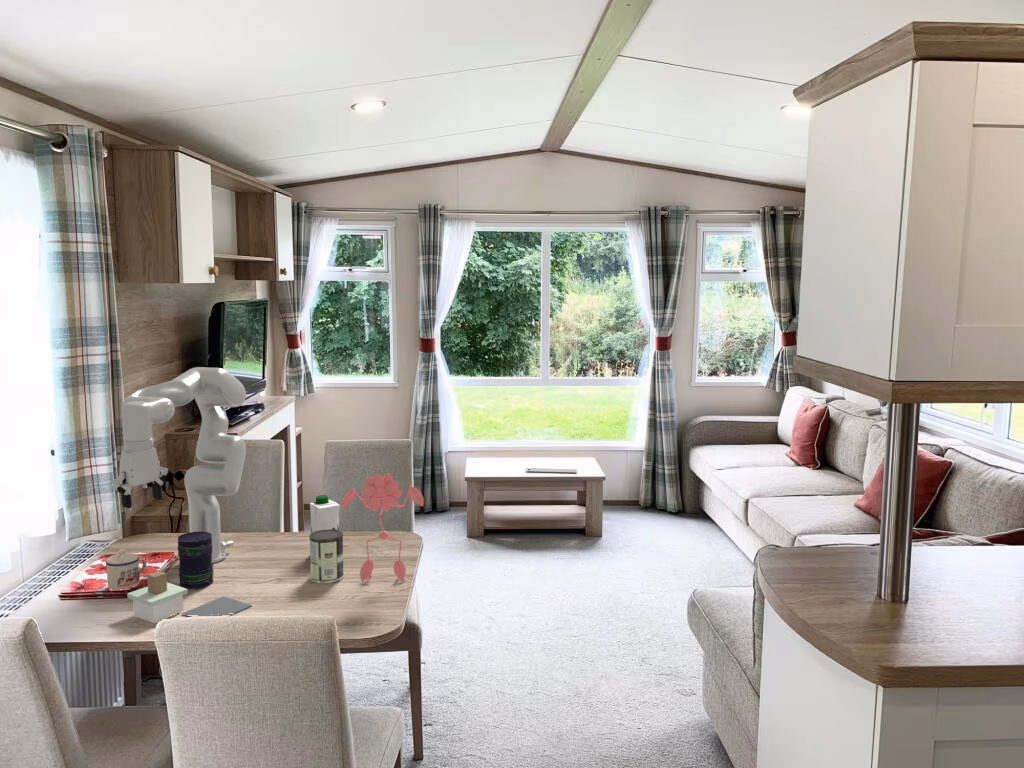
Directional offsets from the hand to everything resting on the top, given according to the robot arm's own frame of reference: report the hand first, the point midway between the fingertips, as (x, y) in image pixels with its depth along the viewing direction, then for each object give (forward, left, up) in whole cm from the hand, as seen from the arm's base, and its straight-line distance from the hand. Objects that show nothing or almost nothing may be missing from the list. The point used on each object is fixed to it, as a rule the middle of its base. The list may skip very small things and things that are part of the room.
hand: (142, 502), depth 223 cm
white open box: (+5, +13, -29) cm, 32 cm away
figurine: (-45, +51, -29) cm, 74 cm away
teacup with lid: (-3, -13, -29) cm, 32 cm away
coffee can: (-40, +33, -29) cm, 59 cm away
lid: (+5, +13, -23) cm, 27 cm away
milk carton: (-55, +18, -29) cm, 64 cm away
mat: (-5, +25, -29) cm, 38 cm away
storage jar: (-15, +3, -29) cm, 32 cm away
